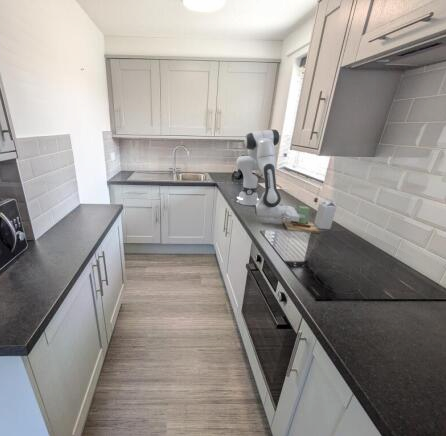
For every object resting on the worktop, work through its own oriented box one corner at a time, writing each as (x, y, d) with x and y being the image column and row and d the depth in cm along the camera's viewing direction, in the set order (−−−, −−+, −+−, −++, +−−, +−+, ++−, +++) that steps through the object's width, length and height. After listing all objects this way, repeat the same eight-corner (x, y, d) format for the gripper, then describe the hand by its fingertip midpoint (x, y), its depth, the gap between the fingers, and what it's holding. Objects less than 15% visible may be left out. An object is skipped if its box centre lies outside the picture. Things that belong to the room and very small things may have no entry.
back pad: (295, 220, 149) (299, 205, 146) (304, 221, 148) (307, 206, 145) (297, 222, 146) (300, 207, 142) (305, 223, 145) (309, 208, 141)
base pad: (282, 220, 158) (283, 216, 157) (311, 224, 154) (312, 219, 153) (286, 229, 143) (287, 225, 142) (318, 233, 139) (319, 228, 138)
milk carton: (324, 225, 152) (332, 197, 145) (330, 229, 145) (338, 200, 139) (313, 224, 152) (320, 197, 146) (318, 229, 146) (326, 200, 139)
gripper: (284, 212, 138) (309, 215, 135) (279, 203, 156) (301, 205, 153) (282, 222, 140) (307, 225, 137) (277, 212, 158) (299, 214, 155)
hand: (304, 214), depth 145 cm, fingers closed on back pad, 4 cm apart
